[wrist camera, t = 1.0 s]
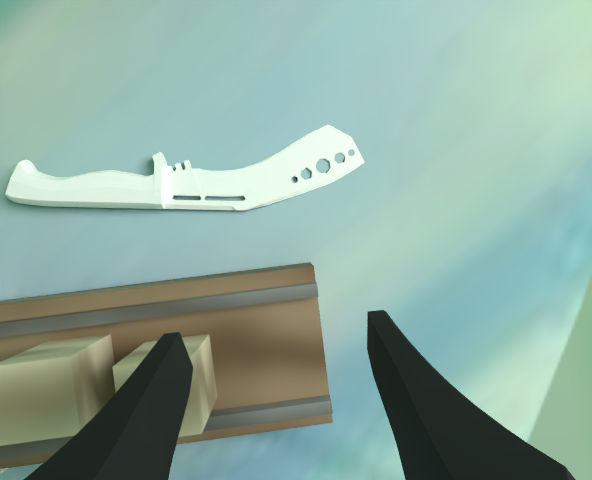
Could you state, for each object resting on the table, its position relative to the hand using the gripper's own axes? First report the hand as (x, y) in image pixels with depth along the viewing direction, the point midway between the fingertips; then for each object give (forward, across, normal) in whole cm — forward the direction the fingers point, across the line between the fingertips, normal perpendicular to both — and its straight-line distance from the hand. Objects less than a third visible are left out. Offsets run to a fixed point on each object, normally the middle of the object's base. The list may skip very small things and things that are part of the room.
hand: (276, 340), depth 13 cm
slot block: (+8, +9, +8) cm, 15 cm away
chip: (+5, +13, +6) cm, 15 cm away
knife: (+15, +3, -3) cm, 16 cm away
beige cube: (+5, +7, +7) cm, 11 cm away
